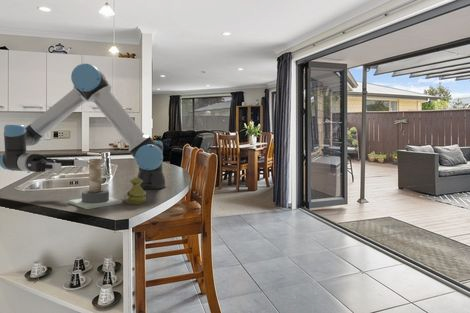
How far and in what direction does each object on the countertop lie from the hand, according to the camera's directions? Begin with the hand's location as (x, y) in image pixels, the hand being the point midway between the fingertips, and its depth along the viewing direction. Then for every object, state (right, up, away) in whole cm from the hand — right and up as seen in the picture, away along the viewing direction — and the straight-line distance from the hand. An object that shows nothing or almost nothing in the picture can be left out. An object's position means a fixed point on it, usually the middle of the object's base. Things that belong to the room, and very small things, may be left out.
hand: (74, 165), depth 126 cm
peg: (+10, -13, -3) cm, 17 cm away
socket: (+10, -15, -3) cm, 18 cm away
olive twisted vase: (+24, -15, 0) cm, 29 cm away
